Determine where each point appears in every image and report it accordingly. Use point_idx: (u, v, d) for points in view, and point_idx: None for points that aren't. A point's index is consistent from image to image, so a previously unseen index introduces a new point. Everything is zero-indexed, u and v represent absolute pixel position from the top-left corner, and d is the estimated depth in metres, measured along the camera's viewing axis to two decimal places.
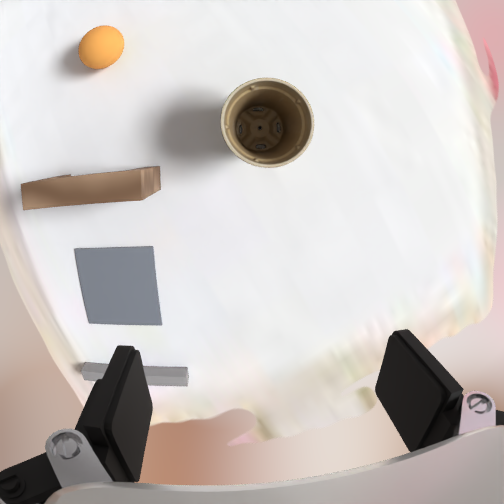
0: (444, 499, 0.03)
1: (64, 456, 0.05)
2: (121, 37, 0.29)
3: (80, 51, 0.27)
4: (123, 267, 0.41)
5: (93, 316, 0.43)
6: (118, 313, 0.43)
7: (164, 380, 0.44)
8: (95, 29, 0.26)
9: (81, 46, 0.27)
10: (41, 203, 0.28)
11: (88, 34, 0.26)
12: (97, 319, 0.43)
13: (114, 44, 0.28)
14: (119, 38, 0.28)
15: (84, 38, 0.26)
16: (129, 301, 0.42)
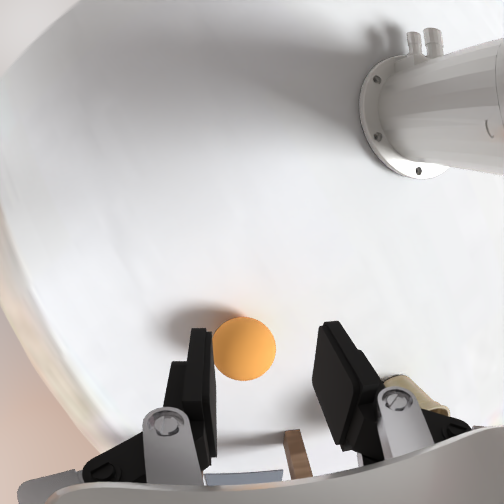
0: (444, 499, 0.03)
1: (160, 432, 0.06)
2: (274, 343, 0.28)
3: (222, 370, 0.26)
4: (253, 481, 0.40)
5: None
6: None
7: None
8: (243, 347, 0.25)
9: (224, 368, 0.26)
10: None
11: (234, 355, 0.25)
12: None
13: (271, 363, 0.27)
14: (274, 349, 0.27)
15: (228, 359, 0.25)
16: None
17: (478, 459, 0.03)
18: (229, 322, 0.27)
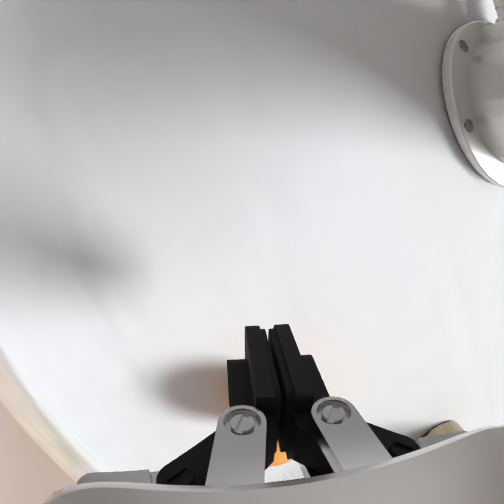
0: (444, 499, 0.03)
1: (234, 430, 0.07)
2: None
3: None
4: None
5: None
6: None
7: None
8: None
9: None
10: None
11: None
12: None
13: None
14: None
15: None
16: None
17: (478, 459, 0.03)
18: None
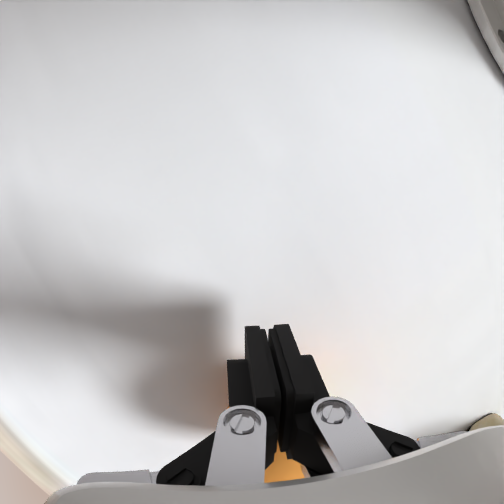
0: (444, 499, 0.03)
1: (234, 430, 0.07)
2: None
3: None
4: None
5: None
6: None
7: None
8: (289, 462, 0.09)
9: None
10: None
11: (269, 477, 0.09)
12: None
13: None
14: None
15: None
16: None
17: (478, 459, 0.03)
18: None
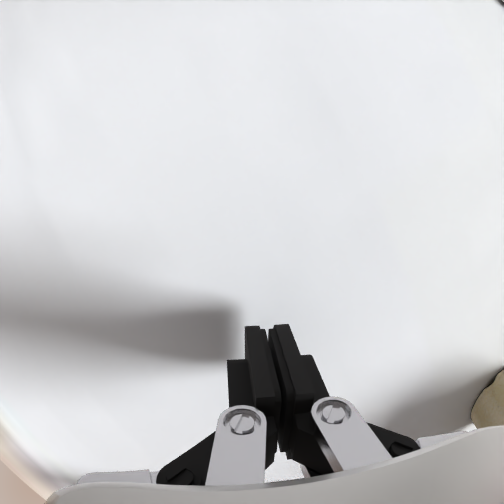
0: (444, 499, 0.03)
1: (234, 430, 0.07)
2: None
3: None
4: None
5: None
6: None
7: None
8: None
9: None
10: None
11: None
12: None
13: None
14: None
15: None
16: None
17: (478, 459, 0.03)
18: None
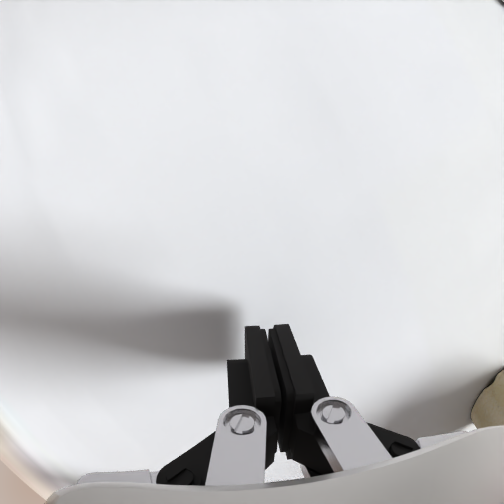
0: (444, 499, 0.03)
1: (234, 430, 0.07)
2: None
3: None
4: None
5: None
6: None
7: None
8: None
9: None
10: None
11: None
12: None
13: None
14: None
15: None
16: None
17: (478, 459, 0.03)
18: None
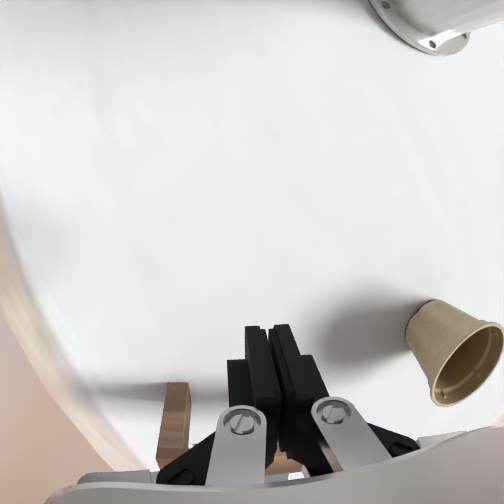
0: (444, 499, 0.03)
1: (234, 430, 0.07)
2: None
3: None
4: None
5: None
6: None
7: None
8: None
9: None
10: None
11: None
12: None
13: None
14: None
15: None
16: None
17: (478, 459, 0.03)
18: None
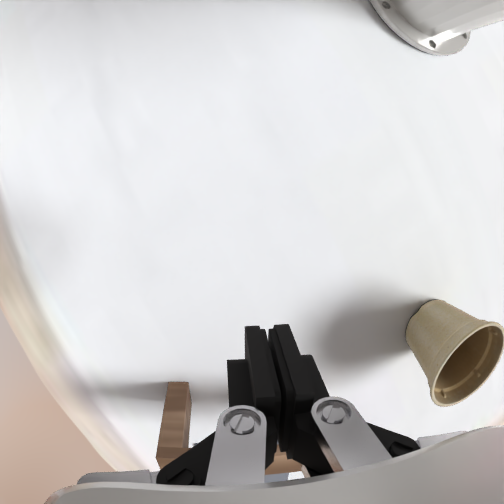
0: (444, 499, 0.03)
1: (234, 430, 0.07)
2: None
3: None
4: None
5: None
6: None
7: None
8: None
9: None
10: None
11: None
12: None
13: None
14: None
15: None
16: None
17: (478, 459, 0.03)
18: None
